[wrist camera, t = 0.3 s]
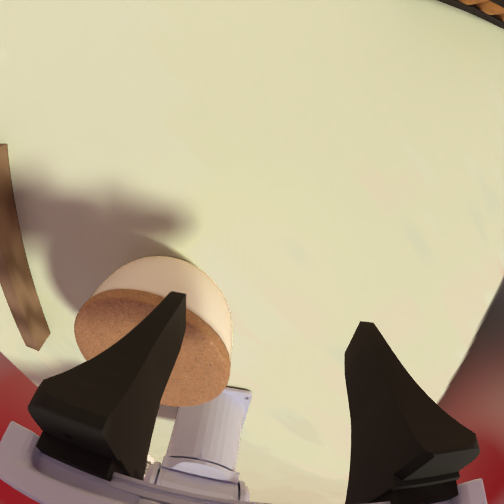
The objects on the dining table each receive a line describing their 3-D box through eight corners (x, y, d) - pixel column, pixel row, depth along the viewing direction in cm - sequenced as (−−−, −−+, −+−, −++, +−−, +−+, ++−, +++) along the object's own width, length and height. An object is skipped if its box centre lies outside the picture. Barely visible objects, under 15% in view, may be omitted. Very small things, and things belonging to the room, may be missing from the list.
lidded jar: (142, 335, 29) (107, 416, 21) (99, 238, 24) (34, 316, 16) (253, 334, 28) (240, 430, 20) (229, 222, 22) (196, 319, 14)
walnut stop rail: (50, 333, 32) (38, 351, 29) (38, 328, 32) (26, 345, 29) (7, 143, 20) (-17, 155, 17) (-7, 144, 20) (-30, 155, 17)
